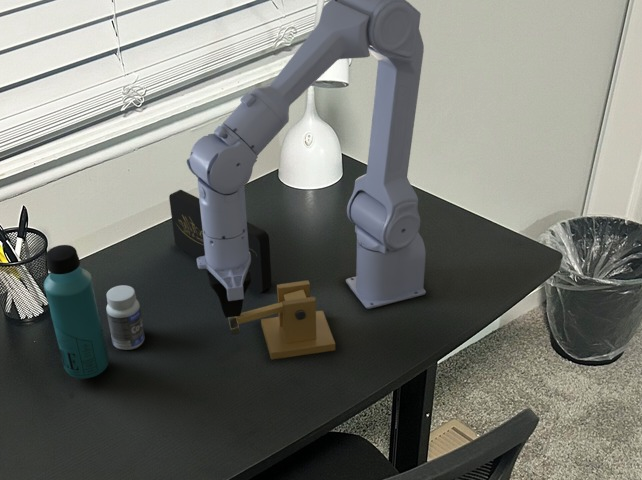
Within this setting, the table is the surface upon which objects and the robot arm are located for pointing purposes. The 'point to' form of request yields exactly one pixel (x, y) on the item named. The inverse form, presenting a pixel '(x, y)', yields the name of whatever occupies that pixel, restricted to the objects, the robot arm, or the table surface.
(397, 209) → the robot arm
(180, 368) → the table surface
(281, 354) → the wooden lever stand
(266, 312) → the handle
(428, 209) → the table surface
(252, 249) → the nameplate
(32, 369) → the table surface
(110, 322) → the pill bottle
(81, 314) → the beverage bottle
